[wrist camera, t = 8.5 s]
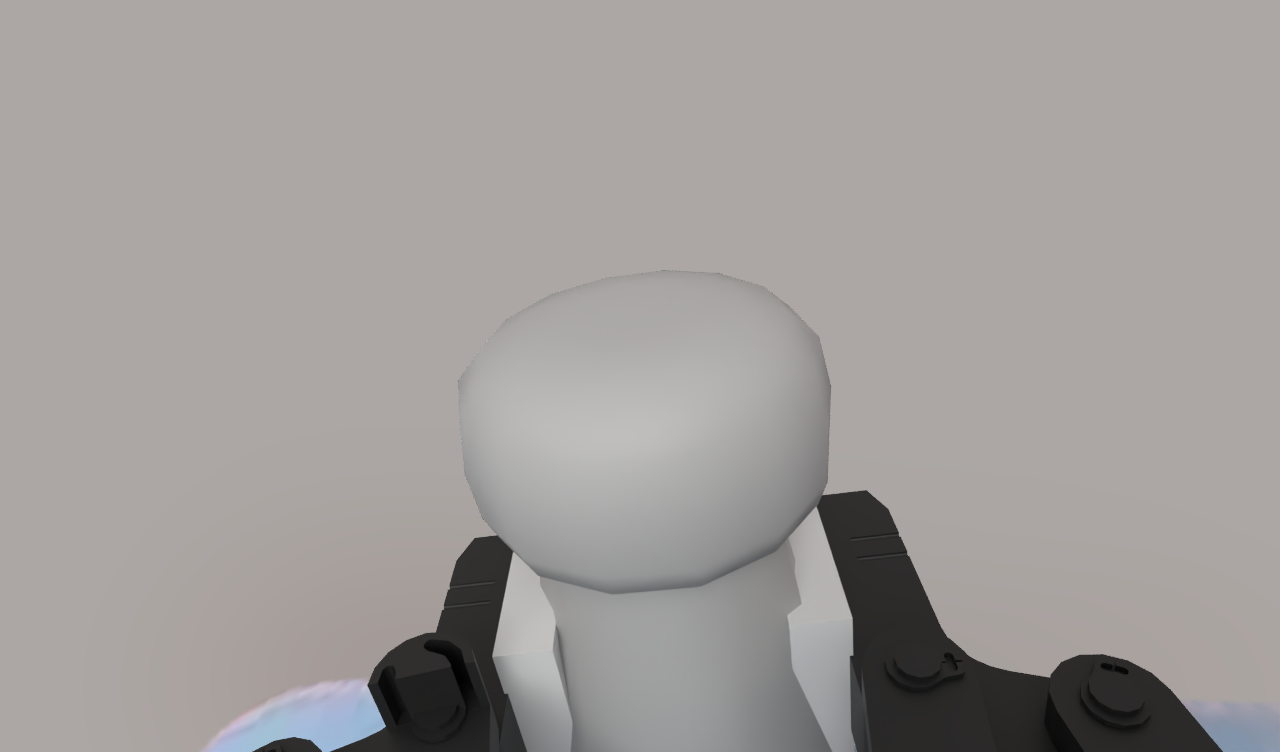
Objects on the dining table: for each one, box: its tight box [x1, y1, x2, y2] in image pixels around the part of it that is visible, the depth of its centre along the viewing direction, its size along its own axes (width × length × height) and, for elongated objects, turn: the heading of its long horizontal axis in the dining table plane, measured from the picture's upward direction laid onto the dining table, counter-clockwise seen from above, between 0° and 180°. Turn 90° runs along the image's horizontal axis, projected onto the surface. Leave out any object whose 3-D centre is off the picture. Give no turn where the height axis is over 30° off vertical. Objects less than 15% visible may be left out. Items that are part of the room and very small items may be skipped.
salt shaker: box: [458, 270, 857, 752], centre depth 12 cm, size 6×6×13 cm
